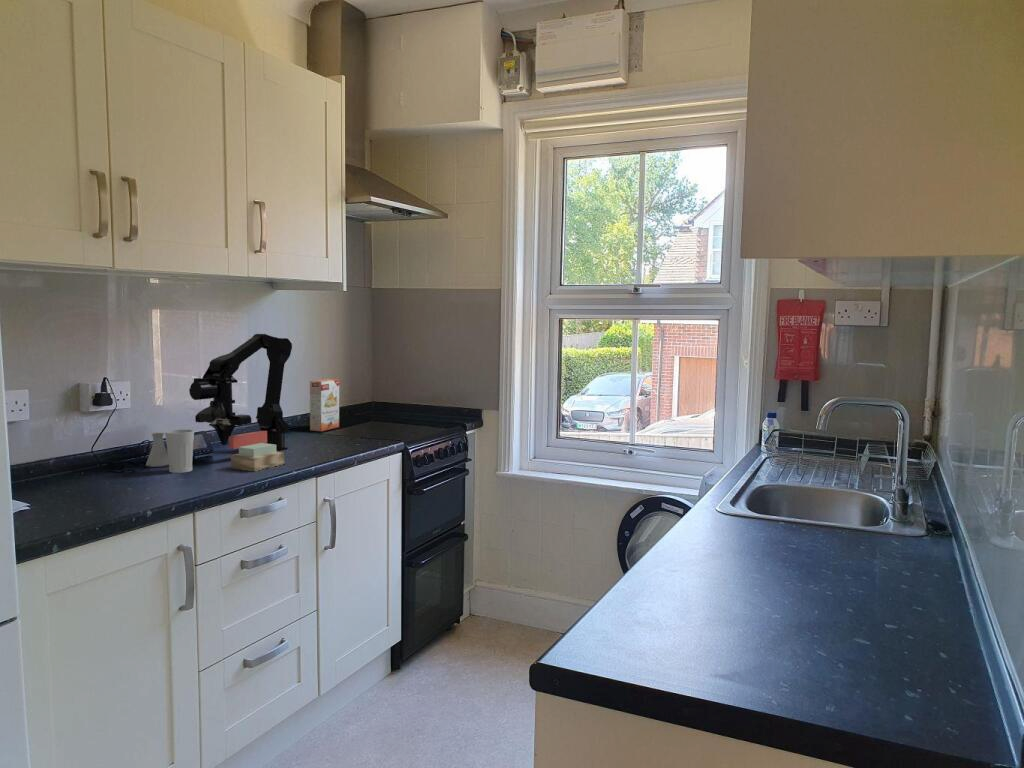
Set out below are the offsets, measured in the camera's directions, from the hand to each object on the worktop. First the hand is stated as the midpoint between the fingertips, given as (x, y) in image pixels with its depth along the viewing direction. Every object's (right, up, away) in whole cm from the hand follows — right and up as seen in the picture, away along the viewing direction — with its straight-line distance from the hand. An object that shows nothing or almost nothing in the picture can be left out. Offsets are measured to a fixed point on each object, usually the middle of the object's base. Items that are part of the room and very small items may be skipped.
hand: (223, 444), depth 230 cm
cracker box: (+15, 0, +67) cm, 69 cm away
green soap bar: (+15, -2, -11) cm, 18 cm away
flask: (-16, -6, -10) cm, 20 cm away
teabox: (+15, -6, -10) cm, 19 cm away
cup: (-6, -7, -17) cm, 19 cm away
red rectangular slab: (+7, -5, +3) cm, 9 cm away
